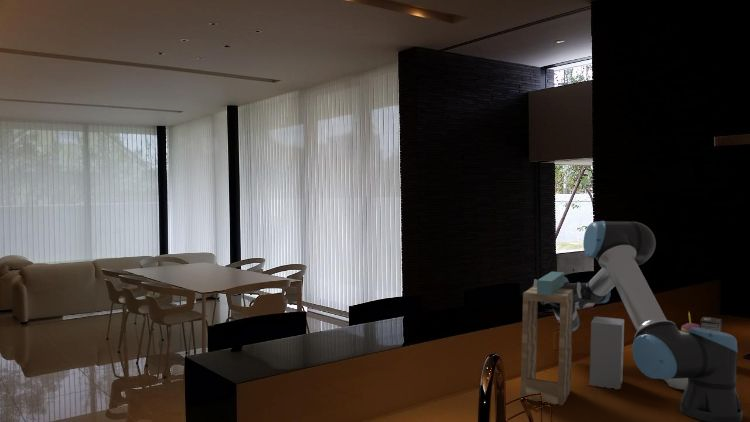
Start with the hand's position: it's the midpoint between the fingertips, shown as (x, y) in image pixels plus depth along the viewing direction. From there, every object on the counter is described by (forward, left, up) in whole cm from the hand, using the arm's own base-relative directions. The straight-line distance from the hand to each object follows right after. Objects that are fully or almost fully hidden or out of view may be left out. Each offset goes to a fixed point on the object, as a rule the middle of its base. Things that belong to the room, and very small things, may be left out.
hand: (556, 284), depth 198 cm
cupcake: (+58, -78, -31) cm, 102 cm away
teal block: (-11, +5, 0) cm, 13 cm away
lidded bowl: (-6, -39, -31) cm, 50 cm away
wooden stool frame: (-15, +7, -31) cm, 35 cm away
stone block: (-3, -16, -31) cm, 35 cm away
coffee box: (+21, -64, -31) cm, 74 cm away
